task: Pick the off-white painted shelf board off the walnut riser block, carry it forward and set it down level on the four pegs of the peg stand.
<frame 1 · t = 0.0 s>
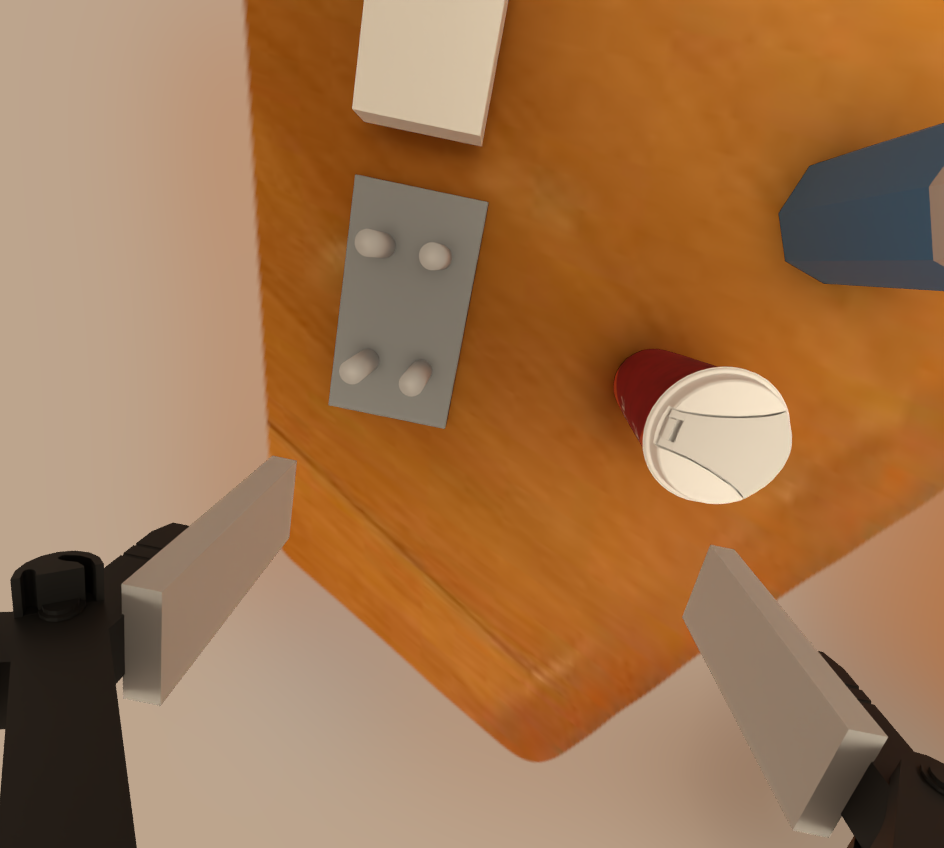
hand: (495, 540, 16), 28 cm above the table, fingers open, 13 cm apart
coffee cup: (649, 383, 43), on the table
water bottle: (840, 218, 38), on the table
shelf board: (441, 10, 32), point 4 cm above the table, touching riser block
peg stand: (405, 309, 42), on the table
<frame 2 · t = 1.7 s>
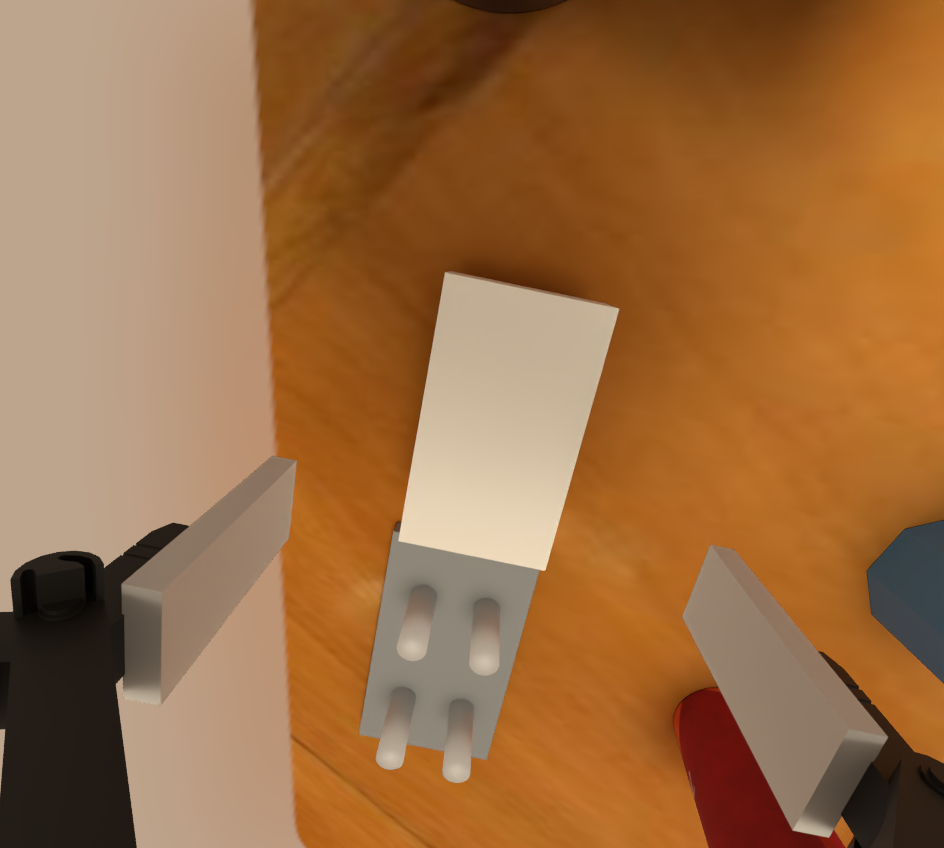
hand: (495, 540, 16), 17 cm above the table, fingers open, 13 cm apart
coffee cup: (713, 716, 39), on the table
water bottle: (935, 576, 34), on the table
shelf board: (499, 416, 28), point 4 cm above the table, touching riser block
peg stand: (445, 642, 38), on the table
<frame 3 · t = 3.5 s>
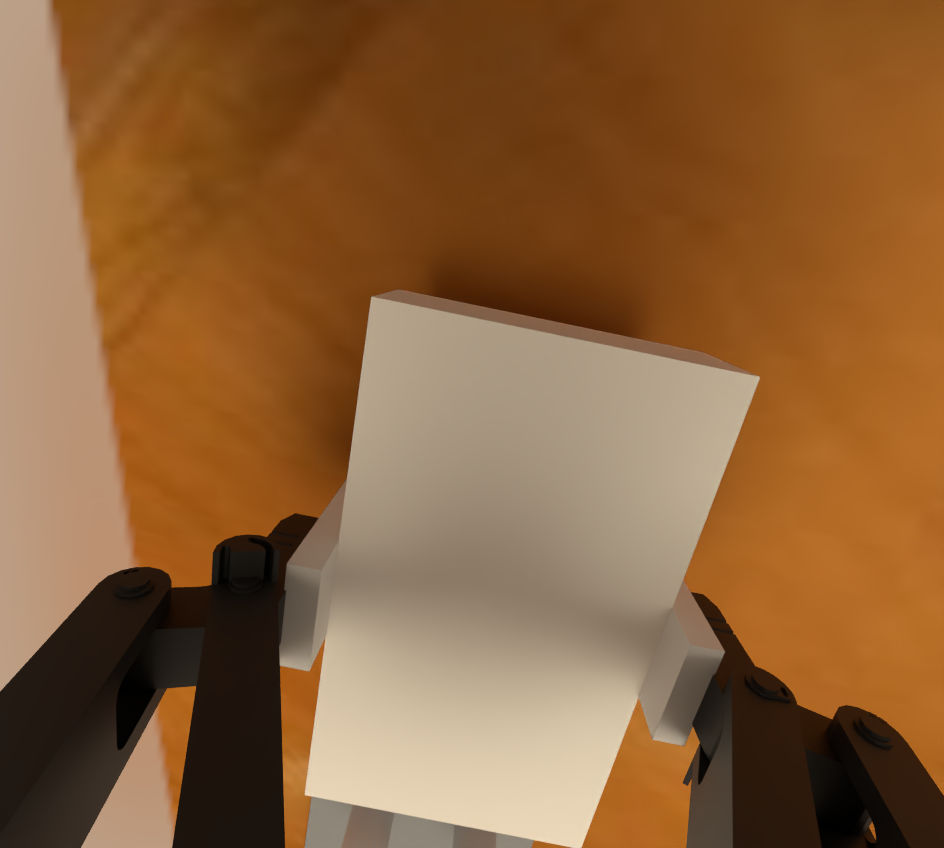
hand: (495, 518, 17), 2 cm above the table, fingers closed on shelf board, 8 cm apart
shelf board: (495, 554, 15), point 4 cm above the table, touching gripper, riser block
peg stand: (414, 844, 25), on the table
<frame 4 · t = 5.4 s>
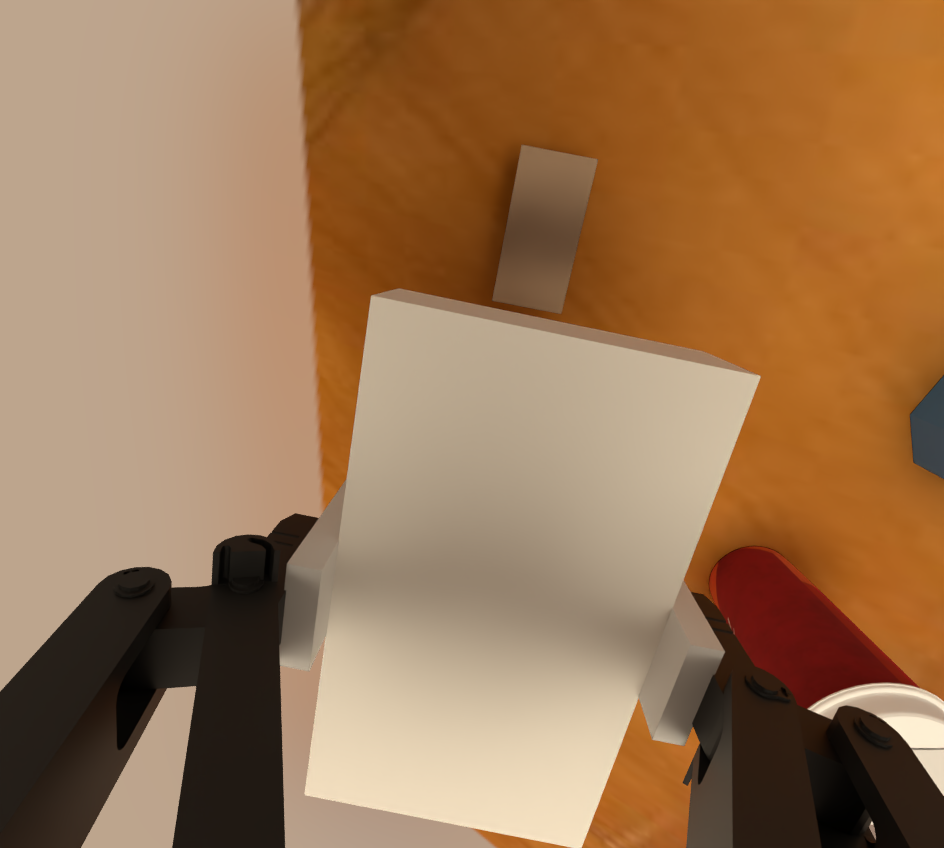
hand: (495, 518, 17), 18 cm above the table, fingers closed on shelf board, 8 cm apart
coffee cup: (749, 578, 39), on the table
riser block: (538, 234, 32), on the table
shelf board: (495, 553, 15), point 21 cm above the table, touching gripper
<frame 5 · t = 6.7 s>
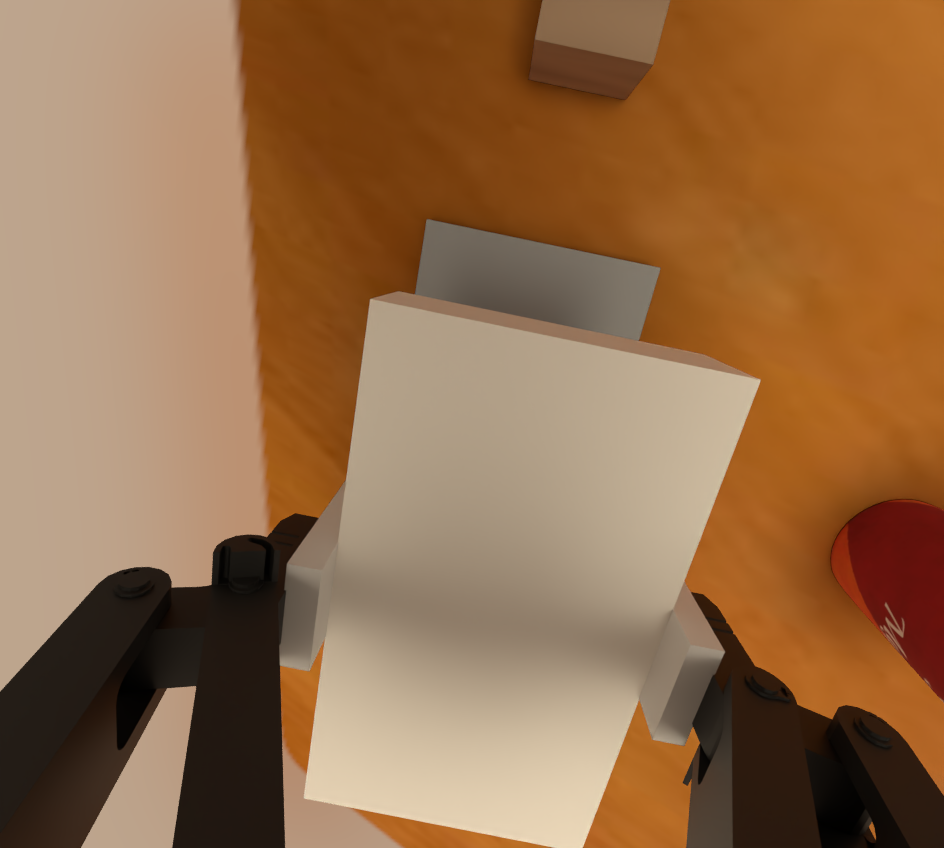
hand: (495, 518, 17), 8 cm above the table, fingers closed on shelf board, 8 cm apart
coffee cup: (889, 549, 26), on the table
shelf board: (494, 556, 15), point 11 cm above the table, touching gripper
peg stand: (498, 433, 25), on the table
when the fingers open (5 cm above the table, at t = 7.7 s): shelf board drops 1 cm, resting on peg stand.
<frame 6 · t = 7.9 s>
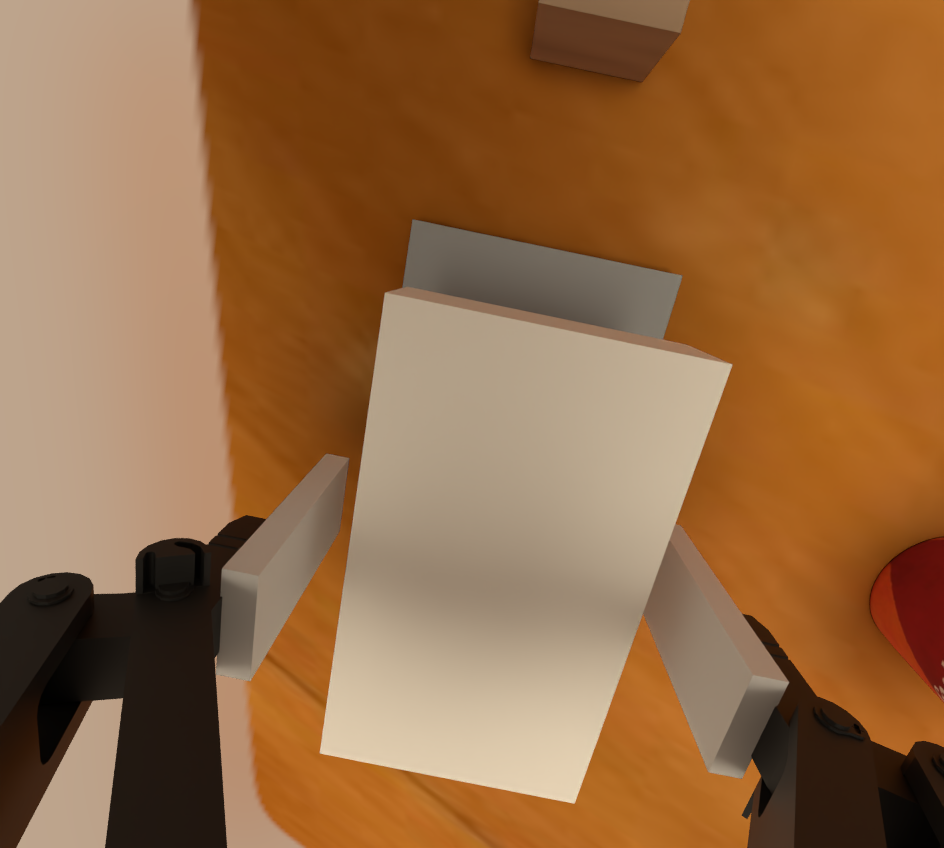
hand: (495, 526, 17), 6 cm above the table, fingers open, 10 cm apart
coffee cup: (936, 591, 23), on the table
shelf board: (495, 532, 17), point 6 cm above the table, touching peg stand
peg stand: (496, 461, 22), on the table
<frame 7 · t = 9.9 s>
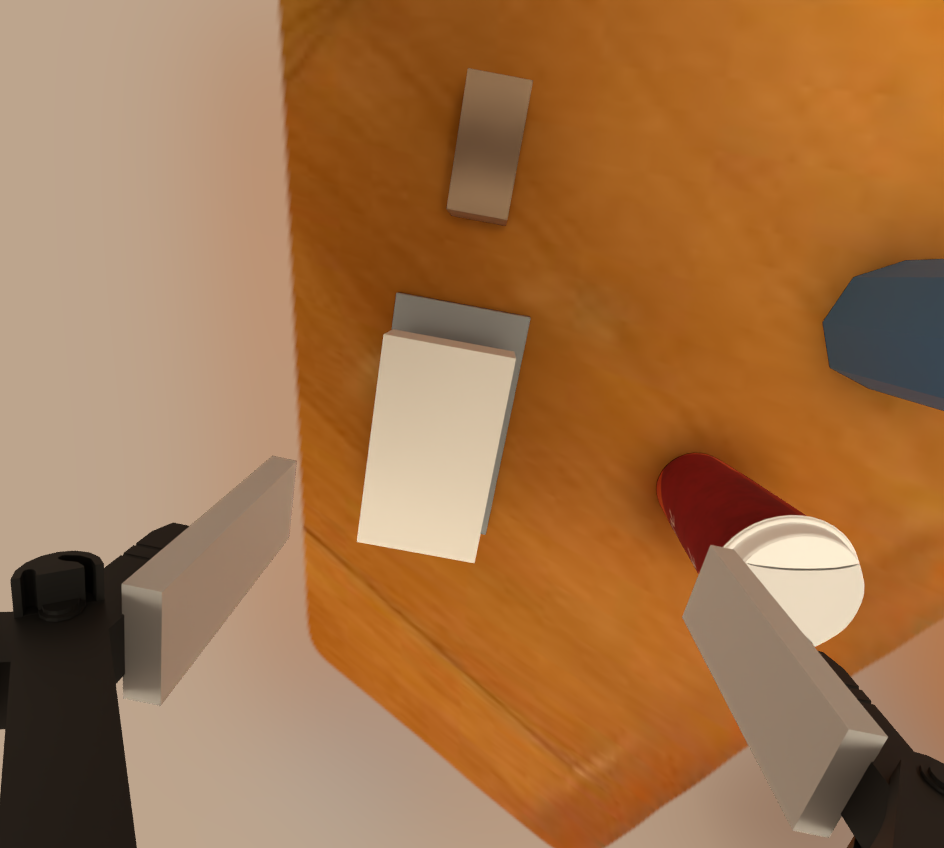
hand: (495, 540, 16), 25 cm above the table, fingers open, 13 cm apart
coffee cup: (692, 486, 42), on the table
water bottle: (884, 326, 38), on the table
riser block: (489, 160, 36), on the table
shelf board: (436, 441, 35), point 6 cm above the table, touching peg stand
peg stand: (445, 417, 41), on the table
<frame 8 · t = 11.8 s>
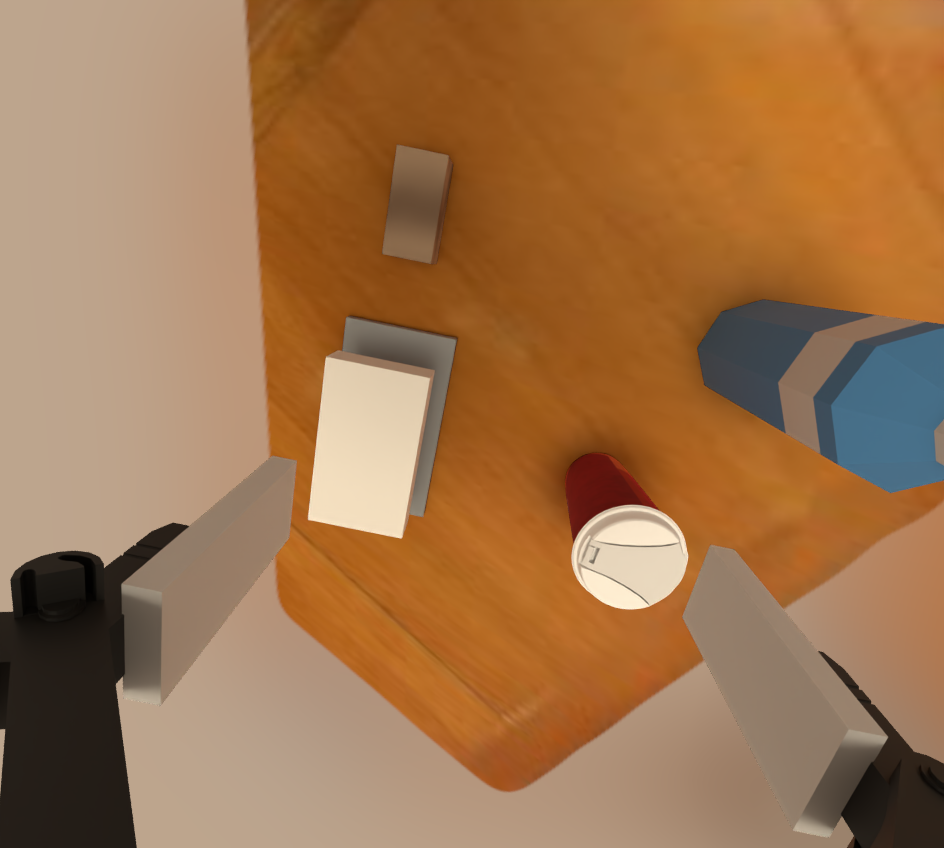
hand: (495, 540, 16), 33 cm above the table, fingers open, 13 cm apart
coffee cup: (595, 480, 51), on the table
water bottle: (748, 352, 46), on the table
riser block: (421, 211, 44), on the table
shelf board: (374, 440, 44), point 6 cm above the table, touching peg stand
peg stand: (389, 419, 50), on the table
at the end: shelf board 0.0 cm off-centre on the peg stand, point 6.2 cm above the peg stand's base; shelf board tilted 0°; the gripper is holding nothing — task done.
